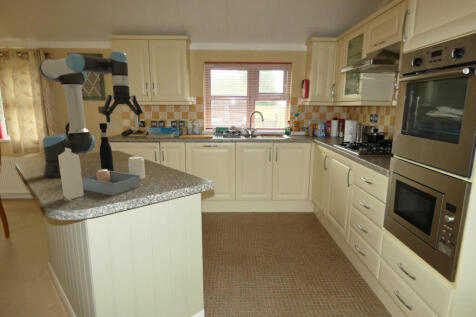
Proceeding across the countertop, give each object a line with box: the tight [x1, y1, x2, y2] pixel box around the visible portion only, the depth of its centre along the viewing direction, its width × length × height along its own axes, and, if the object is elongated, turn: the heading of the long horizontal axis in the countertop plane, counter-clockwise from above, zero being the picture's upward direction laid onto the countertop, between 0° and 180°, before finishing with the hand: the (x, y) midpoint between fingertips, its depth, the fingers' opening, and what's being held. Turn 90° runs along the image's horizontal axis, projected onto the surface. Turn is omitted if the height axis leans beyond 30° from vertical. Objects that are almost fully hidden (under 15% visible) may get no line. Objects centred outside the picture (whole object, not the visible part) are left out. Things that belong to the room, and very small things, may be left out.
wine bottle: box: [98, 122, 115, 172], centre depth 156 cm, size 6×6×30 cm
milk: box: [58, 148, 85, 201], centre depth 118 cm, size 6×6×22 cm
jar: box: [95, 168, 110, 182], centre depth 135 cm, size 6×6×8 cm
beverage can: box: [127, 155, 146, 180], centre depth 149 cm, size 8×8×12 cm
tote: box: [82, 170, 141, 197], centre depth 132 cm, size 22×16×6 cm
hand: (124, 128), depth 139 cm, fingers open, 13 cm apart
